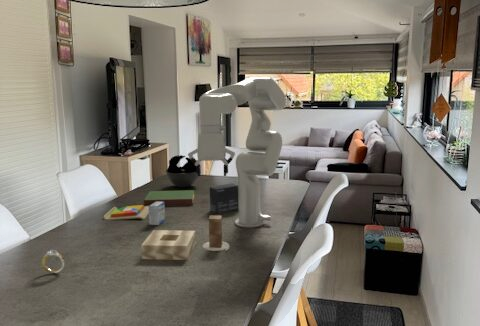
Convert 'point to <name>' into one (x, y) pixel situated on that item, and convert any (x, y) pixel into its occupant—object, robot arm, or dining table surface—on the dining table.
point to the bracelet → (53, 252)
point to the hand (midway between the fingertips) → (212, 175)
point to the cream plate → (224, 246)
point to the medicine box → (156, 213)
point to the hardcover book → (170, 197)
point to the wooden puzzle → (127, 212)
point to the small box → (224, 198)
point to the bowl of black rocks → (181, 172)
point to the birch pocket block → (168, 245)
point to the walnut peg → (215, 231)
